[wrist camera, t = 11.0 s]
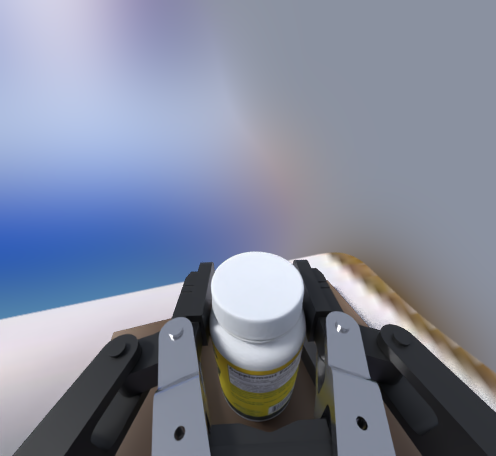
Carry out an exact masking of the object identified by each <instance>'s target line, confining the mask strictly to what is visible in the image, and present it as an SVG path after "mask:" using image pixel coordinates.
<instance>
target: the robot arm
mask: <svg viewBox="0 0 496 456" xmlns="http://www.w3.org/2000/svg"><path fill="white" fill-rule="evenodd" d="M293 265H294V267H295V268H296V269H297V270H298V271H299V273H300V275H301V277H302V279H303V284H304V296H303V303H302V308H303V311H304V314H305V319H306V337H307V340H308V342H315V344H316V346H317V350H316V399H315V407H314V419H309V420H297V421H295V422H293V423H291V424H288V425H286V426H284V427H282V428H280V429H277V430H275V431H273V432H266V431H263V430H259V429H256V428H253V427H250V426H247V425H244V424H241V423H235V424H217V425H212V424H211V418H210V413H209V408H208V402H207V396H206V390H205V384H204V378H203V372H202V366H201V360H200V356H201V350H202V346H208V342H209V334H210V328H209V318H210V312H211V309H212V293H211V281H212V278H213V275H214V273H215V270H214V263H213V262H207V263H200V266H199V269H198V272H191V273H190V274H189V275H188V276H187V277H186V279H185V281H184V284H183V287H182V290H181V293H180V296H179V299H178V302H177V305H176V307H175V310H174V313H173V316H172V319H171V320H170V321H168V322H167V323H166V324H165V325H164V326H163V327H162V329H161V331H159V332H157V333H155V334H152V335H149V336H146V337H143V338H140V339H137V338H136V336H134V335H132V334H124V335H120V336H118V337H116V338H114V339H113V340H111V341H110V342H109V343H108V344H106V345H105V347H104V348H103V349H102V350H101V351H100V352H99V354H98V355H97V356H96V357H95V358H94V360H93V361H92V362H91V363H90V364H89V365H88V367H87V368H86V369H85V370H84V371H83V373H82V374H81V375H80V376H79V377H78V379H77V380H76V381H75V382H74V383H73V384H72V386H71V387H70V388H69V389H68V390H67V392H66V393H65V394H64V395H63V396H62V398H61V399H60V400H59V401H58V402H57V403H56V405H55V406H54V407H53V408H52V409H51V411H50V412H49V413H48V414H47V415H46V417H45V418H44V419H43V420H42V421H41V422H40V424H39V425H38V426H37V427H36V428H35V430H34V431H33V432H32V433H31V434H30V435H29V437H28V438H27V439H26V440H25V441H24V443H23V444H22V445H21V446H20V447H19V449H18V450H17V451H16V452H15V453H14V454H13V456H115V455H116V453H117V451H118V449H119V447H120V445H121V444H122V442H123V440H124V438H125V436H126V434H127V432H128V430H129V429H130V427H131V425H132V423H133V421H134V419H135V417H136V416H137V414H138V412H139V410H140V408H141V406H142V404H143V403H144V401H145V399H146V397H147V395H148V393H149V391H150V389H151V388H154V387H156V386H158V389H157V391H155V394H154V400H153V425H152V456H396V455H395V450H394V446H393V442H392V438H391V434H390V429H389V425H388V421H387V417H386V412H385V408H384V404H383V401H384V403H385V404H386V406H387V407H388V408H389V410H390V411H391V413H392V414H393V415H394V417H395V418H396V420H397V421H398V422H399V424H400V425H401V427H402V428H403V430H404V431H405V432H406V434H407V435H408V437H409V438H410V439H411V441H412V442H413V444H414V445H415V446H416V448H417V449H418V451H419V452H420V453H421V455H422V456H496V412H495V411H494V410H492V409H491V408H490V407H489V406H488V405H487V404H486V403H485V402H484V401H483V400H482V399H481V398H480V397H479V396H477V395H476V394H475V393H474V392H473V391H472V390H471V389H470V388H469V387H468V386H467V385H466V384H465V383H464V382H462V381H461V380H460V379H459V378H458V377H457V376H456V375H455V374H454V373H453V372H452V371H451V370H450V369H449V368H447V367H446V366H445V365H444V364H443V363H442V362H441V361H440V360H439V359H438V358H437V357H436V356H435V355H434V354H432V353H431V352H430V351H429V350H428V349H427V348H426V347H425V346H424V345H423V344H422V343H421V342H420V341H419V340H417V339H416V338H415V337H414V336H413V335H412V334H411V333H410V332H408V331H407V330H405V329H404V328H402V327H399V326H397V325H392V324H388V325H384V326H383V327H382V328H381V330H377V329H373V328H369V327H365V326H362V325H359V324H357V322H356V321H355V320H354V319H353V318H352V317H351V316H349V315H348V314H346V313H344V312H343V310H342V308H341V306H340V305H339V303H338V301H337V299H336V297H335V295H334V294H333V292H332V290H331V289H330V286H329V284H328V283H327V281H326V279H325V277H324V275H323V274H322V273H321V272H320V271H319V270H318V269H317V268H311V267H310V265H309V263H308V261H307V260H294V261H293Z"/></svg>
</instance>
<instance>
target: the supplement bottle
mask: <svg viewBox="0 0 496 456" xmlns="http://www.w3.org/2000/svg"><path fill="white" fill-rule="evenodd" d="M211 293H212V309H211V312H210V318H209V328H210V335H211V340H212V345H213V351H214V354H215V360H216V364H217V369H218V374H219V379H220V384H221V388H222V392H223V395H224V397H225V399H226V401H227V403H228V404H229V406H230V407H231V408H232V409H233V411H235V412H236V413H237V414H238V415H239V416H241V417H242V418H245V419H247V420H250V421H256V422H261V421H267V420H270V419H272V418H274V417H276V416H277V415H279V414H280V413H281V412H282V411H283V410H284V409H285V407H286V406H287V405H288V403H289V401H290V399H291V396H292V393H293V390H294V385H295V381H296V377H297V372H298V367H299V362H300V357H301V353H302V348H303V344H304V340H305V334H306V319H305V314H304V311H303V308H302V303H303V296H304V284H303V279H302V277H301V275H300V273H299V271H298V270H297V269H296V268H295V267H294V265H292V264H291V263H290V262H288V261H287V260H285V259H284V258H282V257H279V256H277V255H274V254H270V253H265V252H247V253H242V254H238V255H235V256H233V257H231V258H229V259H228V260H226V261H224V262H223V263H222V264H221V265H220V266H219V267H218V268H217V270H216V271H215V273H214V275H213V278H212V281H211Z"/></svg>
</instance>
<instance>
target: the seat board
mask: <svg viewBox="0 0 496 456" xmlns="http://www.w3.org/2000/svg"><path fill="white" fill-rule="evenodd" d="M326 281H327V283H328V284H329V286H330V289H331V290H332V292H333V294H334V295H335V297H336V299H337V301H338V303H339V305H340V306H341V308H342V310H343V312H344V313H346V314H348V315H349V316H351V317H352V318H353V319H354V320H355V321H356V322H357V324H359V325H362V326H365V327H369V326H368V325H367V324H366V323H365V322H364V321H363V320H362V319H361V317H360V316H359V315H358V314H357V313H356V312H355V311H354V310H353V308H352V307H351V306H350V305H349V304H348V303H347V302H346V301H345V299H344V298H343V297H342V296H341V295H340V294H339V293H338V292H337V290H336V289H335V288H334V287H333V286H332V285H331V284H330V283H329V281H328V280H326ZM171 319H172V318H171ZM171 319H167V320H162V321H158V322H154V323H150V324H146V325H142V326H138V327H134V328H130V329H126V330H121V331H117V332H114V333H113V336H112V339H111V340H113V339H114V338H116V337H118V336H120V335H124V334H132V335H134V336H136V338H137V339H140V338H143V337H146V336H149V335H152V334H155V333H157V332H159V331H161V329H162V327H163V326H164V325H165V324H166V323H167V322H168V321H170V320H171ZM316 350H317V346H316V344H315V342H308V340H307V337H306V334H305V340H304V344H303V348H302V353H301V357H300V362H299V367H298V372H297V377H296V381H295V385H294V390H293V393H292V396H291V399H290V401H289V403H288V405H287V406H286V407H285V409H284V410H283V411H282V412H281V413H280V414H279V415H277V416H276V417H274V418H272V419H270V420H267V421H261V422H256V421H250V420H247V419H245V418H242V417H241V416H239V415H238V414H237V413H236V412H235V411H233V409H232V408H231V407H230V406H229V404H228V403H227V401H226V399H225V397H224V395H223V392H222V388H221V384H220V379H219V374H218V369H217V364H216V360H215V354H214V351H213V345H212V340H211V335H210V334H209V342H208V346H202V350H201V356H200V360H201V366H202V372H203V378H204V384H205V390H206V396H207V402H208V408H209V413H210V418H211V424H212V425H217V424H235V423H241V424H244V425H247V426H250V427H253V428H256V429H259V430H263V431H266V432H273V431H275V430H277V429H280V428H282V427H284V426H286V425H288V424H291V423H293V422H295V421H297V420H309V419H314V407H315V399H316ZM157 389H158V386H156V387H154V388H151V389H150V391H149V393H148V395H147V397H146V399H145V401H144V403H143V404H142V406H141V408H140V410H139V412H138V414H137V416H136V417H135V419H134V421H133V423H132V425H131V427H130V429H129V430H128V432H127V434H126V436H125V438H124V440H123V442H122V444H121V445H120V447H119V449H118V451H117V453H116V455H115V456H152V425H153V400H154V394H155V391H157ZM383 404H384V408H385V412H386V417H387V421H388V425H389V429H390V434H391V438H392V442H393V446H394V450H395V455H396V456H422V455H421V453H420V452H419V451H418V449H417V448H416V446H415V445H414V444H413V442H412V441H411V439H410V438H409V437H408V435H407V434H406V432H405V431H404V430H403V428H402V427H401V425H400V424H399V422H398V421H397V420H396V418H395V417H394V415H393V414H392V413H391V411H390V410H389V408H388V407H387V406H386V404H385V403H384V401H383Z"/></svg>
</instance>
